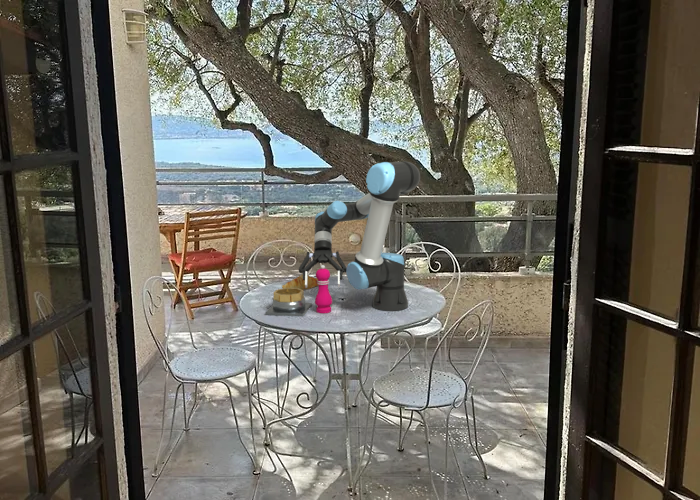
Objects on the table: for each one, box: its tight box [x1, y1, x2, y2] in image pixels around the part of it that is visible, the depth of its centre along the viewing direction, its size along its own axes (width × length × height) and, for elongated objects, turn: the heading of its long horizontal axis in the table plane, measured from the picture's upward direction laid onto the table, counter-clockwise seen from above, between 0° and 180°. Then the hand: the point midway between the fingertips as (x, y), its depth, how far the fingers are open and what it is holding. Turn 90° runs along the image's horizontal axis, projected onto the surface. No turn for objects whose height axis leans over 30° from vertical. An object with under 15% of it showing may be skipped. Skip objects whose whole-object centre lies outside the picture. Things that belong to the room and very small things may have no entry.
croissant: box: [281, 273, 319, 291], centre depth 300 cm, size 21×10×8 cm, turn 120°
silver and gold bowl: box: [265, 288, 313, 317], centre depth 262 cm, size 16×16×8 cm
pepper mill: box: [314, 264, 333, 314], centre depth 258 cm, size 7×7×20 cm
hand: (322, 286), depth 257 cm, fingers open, 13 cm apart
